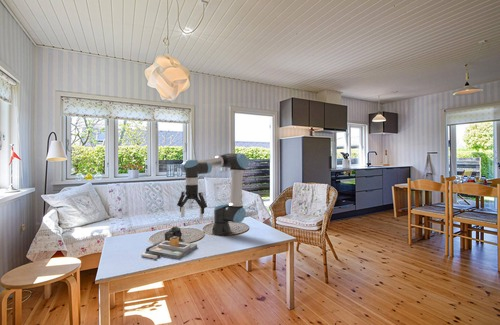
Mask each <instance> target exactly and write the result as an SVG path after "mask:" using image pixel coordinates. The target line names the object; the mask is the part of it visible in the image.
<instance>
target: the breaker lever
mask: <svg viewBox="0 0 500 325" xmlns="http://www.w3.org/2000/svg"><path fill="white" fill-rule="evenodd" d="M179 242H180V239H179V237H177V236H173V237H171V238H170V246H176V247H179Z"/></svg>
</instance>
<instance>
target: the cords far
mask: <svg viewBox="0 0 500 325" xmlns="http://www.w3.org/2000/svg"><path fill="white" fill-rule="evenodd" d="M140 256H141V257H142V258H149V259H154V260H157V259H158V258H160V257H162V256H161V255H160V254H157V253H152V252H150V251H145V252H142V253H141V255H140Z"/></svg>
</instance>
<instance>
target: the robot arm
mask: <svg viewBox="0 0 500 325" xmlns="http://www.w3.org/2000/svg"><path fill="white" fill-rule="evenodd" d="M248 165H249V159H248V156H247V155H246V154H245V153H224V154H221V155H216V156H215V157H210V158H206V159H199V160H198V159H186V160H185V162H182V163H181V164H180V170H181V172H182V173H185V190H183V191H181V194H180V197H179V200H178V201H177V204H176V205H177V207H179V212H180V218H184V217H185V205H186V203H187V201H188V200H194V201H195V202H196V204H197V205H198V206H199V220H203V219H204V214H205V209H206V208H207V207H208V205H207V203H206V199H205V197H204V194H203V191H202V192H199V175H204V174H205V175H207V174H210V173H211V172H212V170H213V169H214V168H219V169H220V168H229V171H231V172H230V173H231V183H230V202H229V203H219V204H215V205H214V206H213V207H214V210H213V213H214V214H213V221H214V222H213V226H212V230H211V232H212V234H213V235H215V236H224V235H225V236H227V235H230V234H231V233H230V232H232V231H231V230H232V229H231V226H230V223H235V224H237V223H238V224H240V223H242V222H243V221H244V220H245V218H246V209H245V208H244V204H242V196H243V194H242V193H243V173H244V172H245V170H246V168H247V167H248Z"/></svg>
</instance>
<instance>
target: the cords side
mask: <svg viewBox="0 0 500 325" xmlns="http://www.w3.org/2000/svg"><path fill="white" fill-rule="evenodd" d="M162 242H163V241H159V242H157V243H155V244H153V245H151V246H148V247H146V249H145V252H150V250H152V249H154V248H156V247H158V244H160V243H162Z"/></svg>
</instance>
